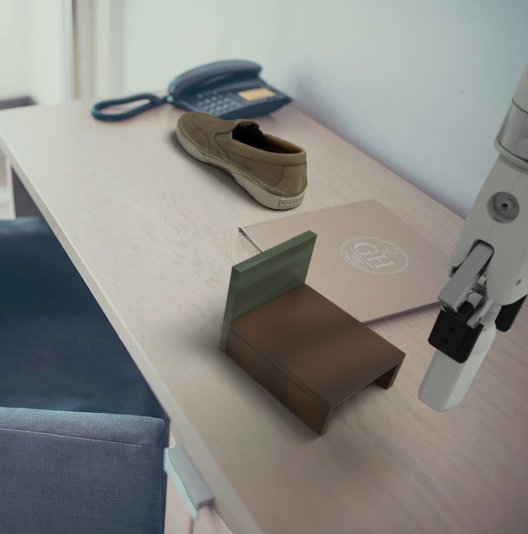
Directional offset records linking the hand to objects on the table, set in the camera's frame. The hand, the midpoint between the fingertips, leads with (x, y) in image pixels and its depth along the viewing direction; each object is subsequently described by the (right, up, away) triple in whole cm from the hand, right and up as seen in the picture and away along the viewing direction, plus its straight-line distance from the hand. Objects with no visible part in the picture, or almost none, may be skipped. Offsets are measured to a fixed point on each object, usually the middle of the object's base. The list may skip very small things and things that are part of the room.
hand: (468, 335), depth 53 cm
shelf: (-8, -6, +19) cm, 21 cm away
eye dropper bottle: (0, -6, +4) cm, 7 cm away
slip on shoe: (-10, +22, +54) cm, 60 cm away
